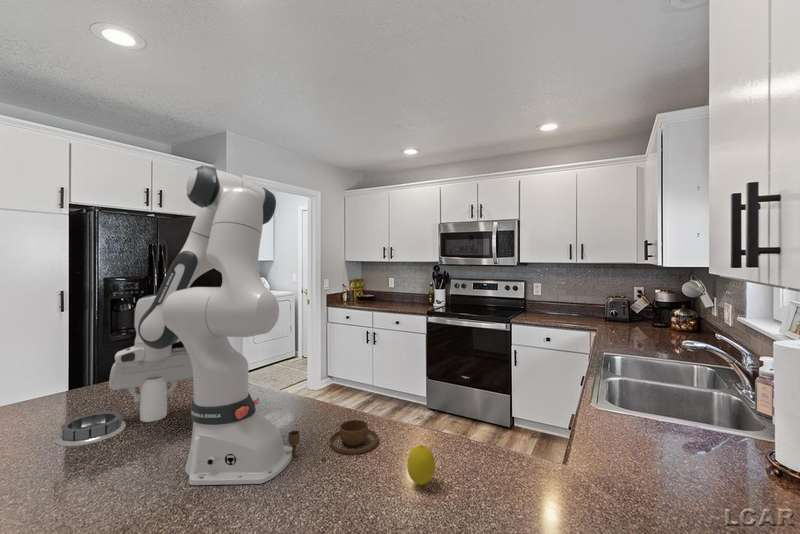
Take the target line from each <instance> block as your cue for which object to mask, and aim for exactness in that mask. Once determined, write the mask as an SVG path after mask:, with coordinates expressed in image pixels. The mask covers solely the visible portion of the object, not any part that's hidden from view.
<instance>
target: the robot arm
mask: <svg viewBox="0 0 800 534" xmlns="http://www.w3.org/2000/svg"><path fill="white" fill-rule="evenodd" d="M186 195H187V198H188V200H189V201H190V202H191V203H192V204H194V205H196V206H198V207H200V209H199V211H198V212H197V214H196V217H195V218H194V220H193V222H192V226H191V228H190V231H189V233H188V236H187V238H186V241H185V243H184V244H183V247H182V248H181V249H180V251H179V253H177V255H176V257H175V258H174V259H173V260H172V262H171V264H170V266H169V268H168V270H167V272H166V273H165V276H164V278H163V280H162V283H161V284H160V286H159V288H158V291H157V293H156V294H149V295H145V296H142V297H140V298H139V299H138V300H137V302H136V305H135V310H134V329H135V334H136V335H135V339H134V345H133V346H130V347H127V348H124V349H122V350H119V351H117V352H116V353H115V355H114V361H115V362H113V364H112V366H111V370H110V374H109V378H108V379H109V380H108V381H109V382H108V388H109V389H110V390H111V391H116V390H117V391H118V390H123V389H124V390H125V389H128V393H130V394H131V397H133V403H135V404H137V403H140V393H139V394H137V393H136V392H135V391H136V388H137V387H140V386H143V384H144V383H145V381H146V380H145V379H155V378H160V377H162V379H163V380H164V381H165V382H167V383H169V382H170V383H171V386H170V388H169V389H168V388H167V398H171V397H173V396H174V390H175V388H176V386H177V385H178V381H181V380H188V379H189V380H190V379H192V380H193V381H192V382H193V385H192V386H193V400H192V402H191V407H190V409H191V410H190V412H191V413H190V415H191V416H190V417H191V418H190V419H191V420H192V431H191V432H192V434H191V441H190V448H189V452H188V453H189V454H188V457H187V460H186V464H185V467H184V471H185V473H186V474H187V475H188V484H189V485H191V486H210V485H211V486H213V485H215V486H217V485H221V486H222V485H259V484H264V483H266V482H269V481H270V480H272V479H274V478H276V477H277V476H278V475H279V474H281V472H283V471H284V470H285V468H287V466H289V464H290V462H291V461H292V460H293V458H292V457H293V454H292V446H291V445H290V446H289V445H285V444H284V443H283V436H282V433H281V429H279V427H278V426H277V425H276V424H274V423H273V422H271V421H270V420H268V419H267V418H266V417H264V416H263V415H262V414H261V413H259V412H258V411H257V408H256V405H258V404H259V403H260V401H259V400H260V398H259V397H258V398H256V399H254V400H253V398H252V395H251V394H250V392H249V363H248V360H247V359H246V357H245V355H243V354H242V353H241V352H239V351H237V350H236V349H235V348H234V347H233V346H232V344H231V342H230V340H229V338H228V337H233V338H248V337H250V338H251V337H255V336H260V335H265V334H269V333H270V332H271V331H272V330H273V328H274V327H275V326H276V324H277V322H278V319H279V316H280V306H279V303H278V300H277V298H276V296H275V294H274V293H272V291H270V290H269V289H268V288H267V286H265V284H264V282H263V280H262V279H261V278H262V277H261V275H260V272H259V257H260V256H259V254H260V249H261V248H260V247H261V239H262V235H263V234H262V233H263V227H264V226H263V225H266V224H268V223H269V222H270V221H271V220H272V218H273V216H274V214H275V212H276V206H277V200H276V196H275V194H274V193H273V192H271V191H270V190H268V189H267V188H265V187H261V186H259V185H257V184H255V183H253V182H252V181H249V180H246V179H244V178H242V177H241V176H238V175H235V174H233V173H229V172H227V171H223V170H219V169H216V167H212V166H208V165H200V166H197V167H196V168H195V169H194V171H193V172H191V174H190V175H189V177H188V179H187V182H186ZM213 269H215V270H216V271H217V272H219V273H220V274H221V279H222V280H221V281H222V282H221V286H193V287H191V285H193V283H194V281H196V280H197V279H198V278H200V276H202V275H203V274H205V273H207V272H209V271H210V270H213ZM180 342H181V343H182V345H183V347H175V348H174V347H173V348H172V346H173V345H174V344H176V343H180Z"/></svg>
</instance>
